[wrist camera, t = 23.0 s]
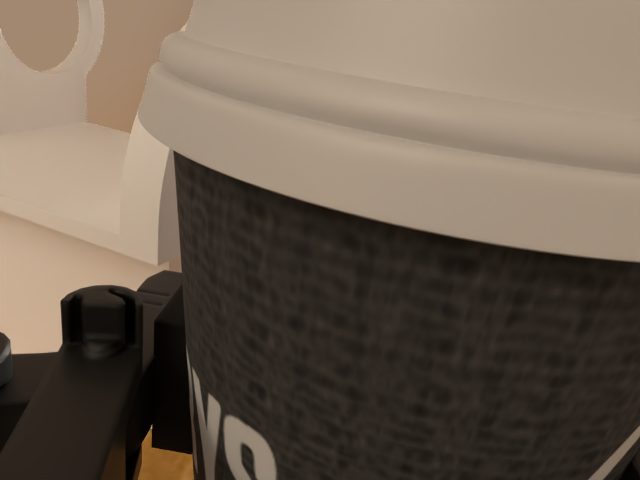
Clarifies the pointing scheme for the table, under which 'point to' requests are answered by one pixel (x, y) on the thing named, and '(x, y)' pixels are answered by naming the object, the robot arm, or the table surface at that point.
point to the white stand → (74, 194)
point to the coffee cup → (407, 236)
